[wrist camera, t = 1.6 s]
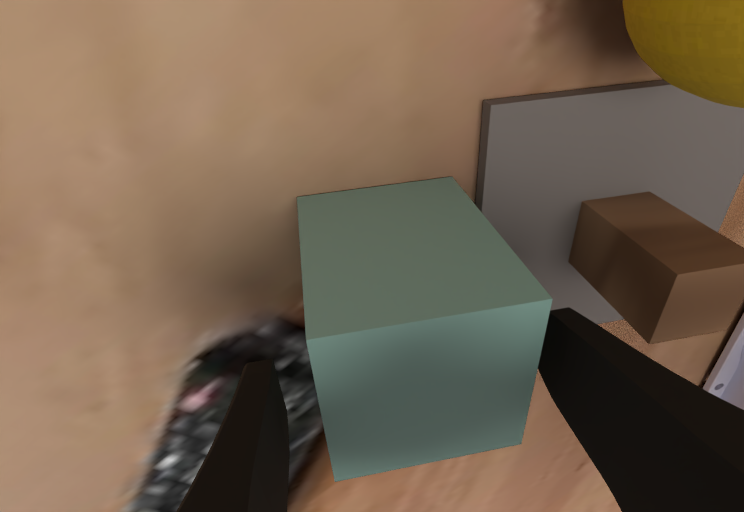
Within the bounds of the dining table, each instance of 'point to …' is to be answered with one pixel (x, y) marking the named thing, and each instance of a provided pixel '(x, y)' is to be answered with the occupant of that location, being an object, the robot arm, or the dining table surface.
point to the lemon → (692, 44)
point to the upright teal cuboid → (416, 326)
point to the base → (600, 169)
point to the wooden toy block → (658, 266)
